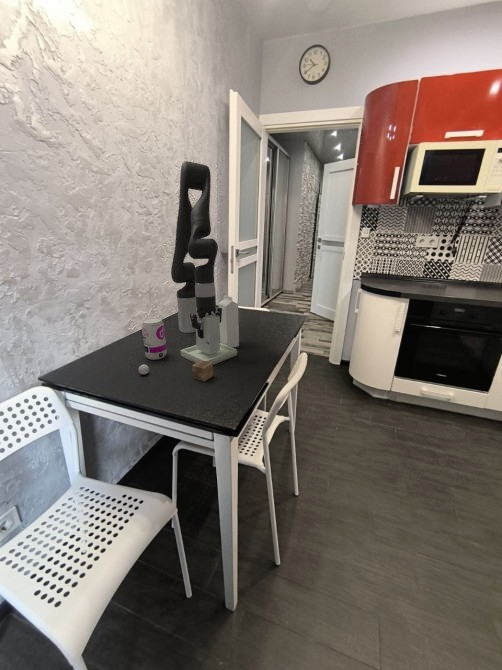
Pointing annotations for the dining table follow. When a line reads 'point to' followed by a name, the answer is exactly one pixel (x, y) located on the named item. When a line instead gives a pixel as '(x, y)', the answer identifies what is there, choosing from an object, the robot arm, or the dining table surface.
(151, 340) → the supplement can
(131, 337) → the dining table surface
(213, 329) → the skincare box
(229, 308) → the milk
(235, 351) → the tray
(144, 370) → the white egg
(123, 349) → the dining table surface
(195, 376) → the walnut block
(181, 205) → the robot arm
